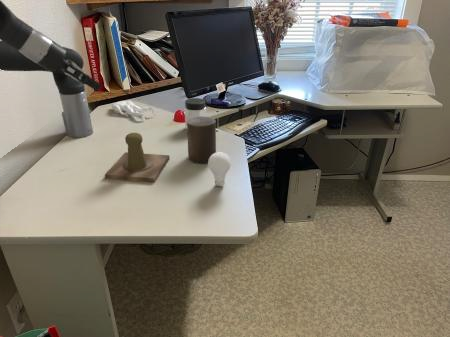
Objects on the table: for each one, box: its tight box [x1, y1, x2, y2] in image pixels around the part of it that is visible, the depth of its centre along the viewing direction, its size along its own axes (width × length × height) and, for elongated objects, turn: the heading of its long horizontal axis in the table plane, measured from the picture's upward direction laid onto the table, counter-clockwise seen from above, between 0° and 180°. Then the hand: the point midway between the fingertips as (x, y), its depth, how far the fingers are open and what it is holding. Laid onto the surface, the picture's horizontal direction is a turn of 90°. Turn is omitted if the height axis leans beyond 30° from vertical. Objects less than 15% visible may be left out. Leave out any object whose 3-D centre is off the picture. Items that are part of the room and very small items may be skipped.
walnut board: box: [104, 151, 170, 183], centre depth 113 cm, size 16×16×2 cm
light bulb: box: [207, 151, 232, 187], centre depth 101 cm, size 7×7×11 cm
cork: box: [124, 132, 147, 170], centre depth 108 cm, size 6×6×11 cm
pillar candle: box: [186, 116, 217, 165], centre depth 117 cm, size 10×10×15 cm
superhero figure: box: [111, 100, 156, 122], centre depth 159 cm, size 12×6×25 cm
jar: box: [184, 97, 207, 130], centre depth 141 cm, size 9×8×12 cm
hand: (95, 85), depth 102 cm, fingers open, 8 cm apart
